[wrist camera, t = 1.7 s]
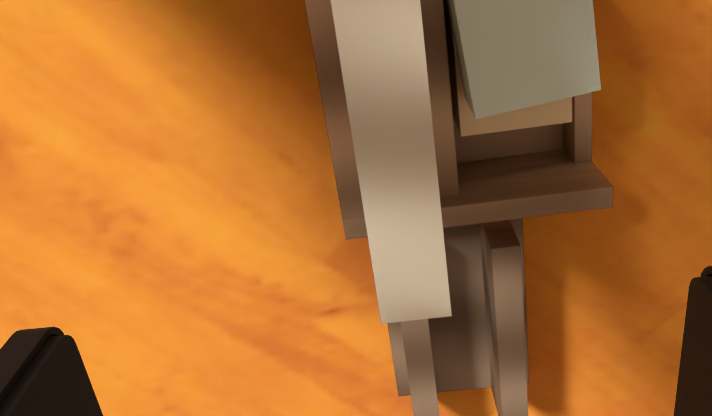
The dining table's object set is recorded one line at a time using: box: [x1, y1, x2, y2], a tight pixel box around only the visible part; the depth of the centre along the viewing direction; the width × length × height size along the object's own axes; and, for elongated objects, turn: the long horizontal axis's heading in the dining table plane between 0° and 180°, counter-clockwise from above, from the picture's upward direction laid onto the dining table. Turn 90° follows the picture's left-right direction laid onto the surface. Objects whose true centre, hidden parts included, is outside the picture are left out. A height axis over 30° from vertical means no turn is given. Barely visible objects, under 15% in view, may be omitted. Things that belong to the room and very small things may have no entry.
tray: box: [305, 0, 613, 240], centre depth 29 cm, size 16×12×6 cm
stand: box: [388, 218, 529, 416], centre depth 36 cm, size 12×8×5 cm, turn 8°
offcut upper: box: [447, 0, 601, 119], centre depth 26 cm, size 6×5×3 cm
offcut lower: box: [443, 0, 572, 137], centre depth 29 cm, size 8×5×3 cm, turn 8°
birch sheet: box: [331, 0, 452, 324], centre depth 23 cm, size 10×2×16 cm, turn 8°
